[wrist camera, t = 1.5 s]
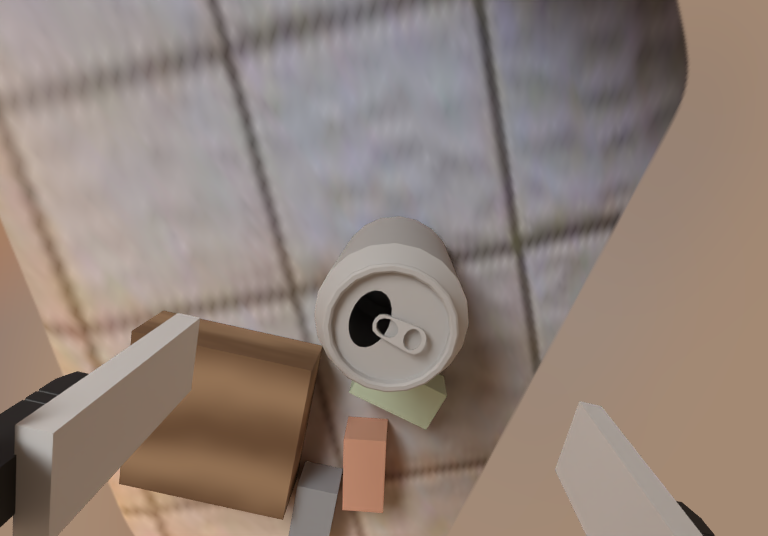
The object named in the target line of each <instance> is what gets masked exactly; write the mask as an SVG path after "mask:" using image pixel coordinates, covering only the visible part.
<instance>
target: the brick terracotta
mask: <svg viewBox="0 0 768 536" xmlns="http://www.w3.org/2000/svg"><path fill="white" fill-rule="evenodd" d="M387 422H388V419H378V418H362V417H348V422H347V426H346V431H345V436H344V453H343V503H342V510H350V511H364V512H379V513H383V502H384V487H385V465H386V444H387Z"/></svg>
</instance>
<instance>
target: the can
mask: <svg viewBox="0 0 768 536" xmlns="http://www.w3.org/2000/svg"><path fill="white" fill-rule="evenodd" d="M314 316H315V323H316V330H317V336H318V338H319V340H320V342H321V344H322V346H323V348H324V350H325V352H326V354H327V356H328V357H329V358H330V359H331V360H332V361H333V363H334V364H335V365H336V366H337V367H338V368H339V369H340V370H341V371H342V372H343V373H344V375H345V376H346V377H347V378H349V379H351V380H353V381H354V382H356V383H358V384H360V385H362V386H364V387H365V388H369V389H374V390H378V391H383V392H396V391H408V390H410V389H413V388H416V387H418V386H421V385H424V384H426V383H428V382H429V381H430V380H431V379H433V378H434V377H435V376H437V375H438V374H439V373H440V372H442V371H443V370H444V369H446V368H447V367H448V366H449V365H450V364H451V363H452V361H453V360H454V358H455V357H456V355H457V354H458V352H459V351H460V349H461V348H462V346H463V343H464V340H465V336H466V332H467V329H468V325H469V321H468V305H467V299H466V297H465V294H464V292H463V289H462V287H461V284H460V282H459V280H458V277H457V275H456V272H455V270H454V267H453V265H452V262H451V260H450V257H449V255H448V253H447V250H446V248H445V245H444V243H443V241H442V240H441V239H440V238H439V237H438V236H437V235H436V233H435V232H434V231H433V230H432V229H431V228H429V227H427V226H426V225H424V224H422V223H421V222H419V221H417V220H414V219H409V218H405V217H400V216H397V217H387V218H380V219H378V220H376V221H374V222H371V223H369V224H367V225H365V226H364V227H363V228H362V229H361V230H359V231H358V232H357V233H356V234H355V235H354V236H353V237H352V238H351V240H350V241H349V243H348V244H347V246H346V247H345V249H344V250H343V252H342V253H341V255H340V256H339V258H338V260H337V261H336V263H335V264H334V266H333V267H332V269H331V270H330V272H329V273H328V275H327V277H326V279H325V281H324V282H323V284H322V286H321V288H320V289H319V291H318V296H317V301H316V307H315V312H314Z"/></svg>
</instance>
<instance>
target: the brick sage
mask: <svg viewBox="0 0 768 536" xmlns="http://www.w3.org/2000/svg"><path fill="white" fill-rule="evenodd" d="M349 393H351V394H353V395H355V396H357V397H359V398H361V399H363V400H365V401H367V402H369V403H371V404H373V405H375V406H378V407H380V408H382V409H384V410H386V411H388V412H390V413H392V414H394V415H396V416H398V417H400V418H402V419H404V420H406V421H408V422H410V423H412V424H415V425H417V426H419V427H421V428H423V429H425V430H426V429H427V428H428V426H429V424H430V423H431V421H432V420H433V418H434V416H435V415H436V413H437V411H438V410H439V408H440V407H441V405H442V403H443V402H444V400H445V398H446V397H447V393H446V387H445V381H444V376H442V375H440V374H438V375H437V376H435V377H434V378H433V379H431V380H430V381H429V382H428V383H426V384H424V385H421V386H418V387H416V388H413V389H410V390H408V391H396V392H383V391H378V390H374V389H369V388H365V387H364V386H362V385H360V384H358V383H356V382H354V381H353V380H352V383H351V387H350V391H349Z"/></svg>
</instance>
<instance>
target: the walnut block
mask: <svg viewBox="0 0 768 536" xmlns="http://www.w3.org/2000/svg"><path fill="white" fill-rule="evenodd" d="M174 315H176V313H172V312H167V311H162V312H161V313H159V314H158V315H156V316H154V317H153V318H151V319H150V320H148V321H147V322H145V323H144V324H142V325H140V326H139V327H137V328H136V329H134V330H133V331H132V335H131V345H132V344H133V343H135V342H136V341H138V340H139V339H141V338H142V337H144V336H145V335H147V334H148V333H150V332H151V331H152V330H154V329H155V328H157V327H158V326H160V325H161V324H163V323H164V322H166V321H167V320H168V319H170V318H171V317H173V316H174ZM321 351H322V346H321V345H316V344H312V343H307V342H303V341H298V340H294V339H289V338H285V337H280V336H275V335H271V334H266V333H262V332H257V331H253V330H248V329H244V328H239V327H235V326H230V325H226V324H221V323H217V322H212V321H208V320H203V319H200V323H199V331H198V339H197V347H196V355H195V363H194V371H193V379H192V387H191V391H190V392H189V393H188V394H187V395H186V396H185V397H184V398H183V400H182V401H181V402H180V403H179V404H178V405H177V406H176V407H175V408H174V409H173V410H172V412H171V413H170V414H169V415H168V416H167V417H166V418H165V419H164V420H163V421H162V422H161V424H160V425H159V426H158V427H157V428H156V429H155V430H154V431H153V432H152V433H151V434H150V436H149V437H148V438H147V439H146V440H145V441H144V442H143V443H142V444H141V445H140V446H139V448H138V449H137V450H136V451H135V452H134V453H133V454H132V455H131V456H130V457H129V458H128V459H127V461H126V462H125V463H124V464H123V465H122V466H121V467H120V479H119V484H122V485H127V486H132V487H136V488H141V489H145V490H150V491H154V492H159V493H163V494H168V495H173V496H177V497H182V498H186V499H191V500H195V501H200V502H204V503H209V504H214V505H218V506H223V507H227V508H232V509H236V510H241V511H245V512H250V513H255V514H259V515H264V516H268V517H273V518H277V519H282V520H283V518H284V515H285V512H286V509H287V506H288V503H289V500H290V497H291V494H292V491H293V488H294V485H295V482H296V478H297V473H298V468H299V463H300V458H301V453H302V448H303V443H304V437H305V432H306V427H307V422H308V417H309V412H310V407H311V402H312V397H313V392H314V387H315V382H316V377H317V371H318V366H319V361H320V356H321Z"/></svg>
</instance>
